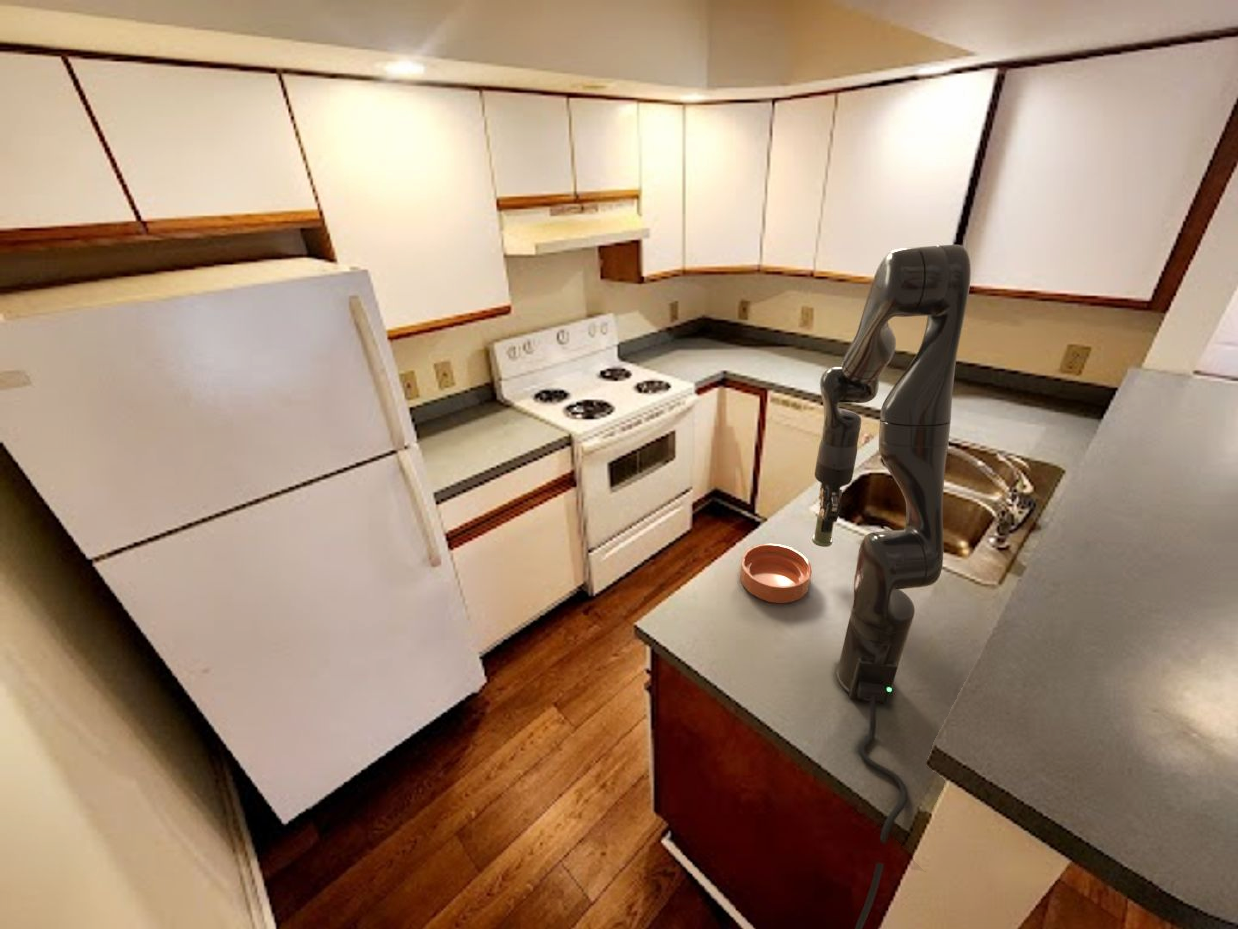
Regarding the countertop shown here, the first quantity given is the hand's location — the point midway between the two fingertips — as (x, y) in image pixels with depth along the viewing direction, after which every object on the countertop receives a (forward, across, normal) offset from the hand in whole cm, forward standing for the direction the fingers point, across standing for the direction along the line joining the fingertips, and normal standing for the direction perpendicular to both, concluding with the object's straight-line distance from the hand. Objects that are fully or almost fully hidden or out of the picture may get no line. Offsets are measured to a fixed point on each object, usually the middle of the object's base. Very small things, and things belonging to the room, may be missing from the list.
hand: (824, 526), depth 120 cm
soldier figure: (+13, -9, +15) cm, 22 cm away
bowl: (+13, +6, -10) cm, 17 cm away
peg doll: (+4, 0, 0) cm, 4 cm away
